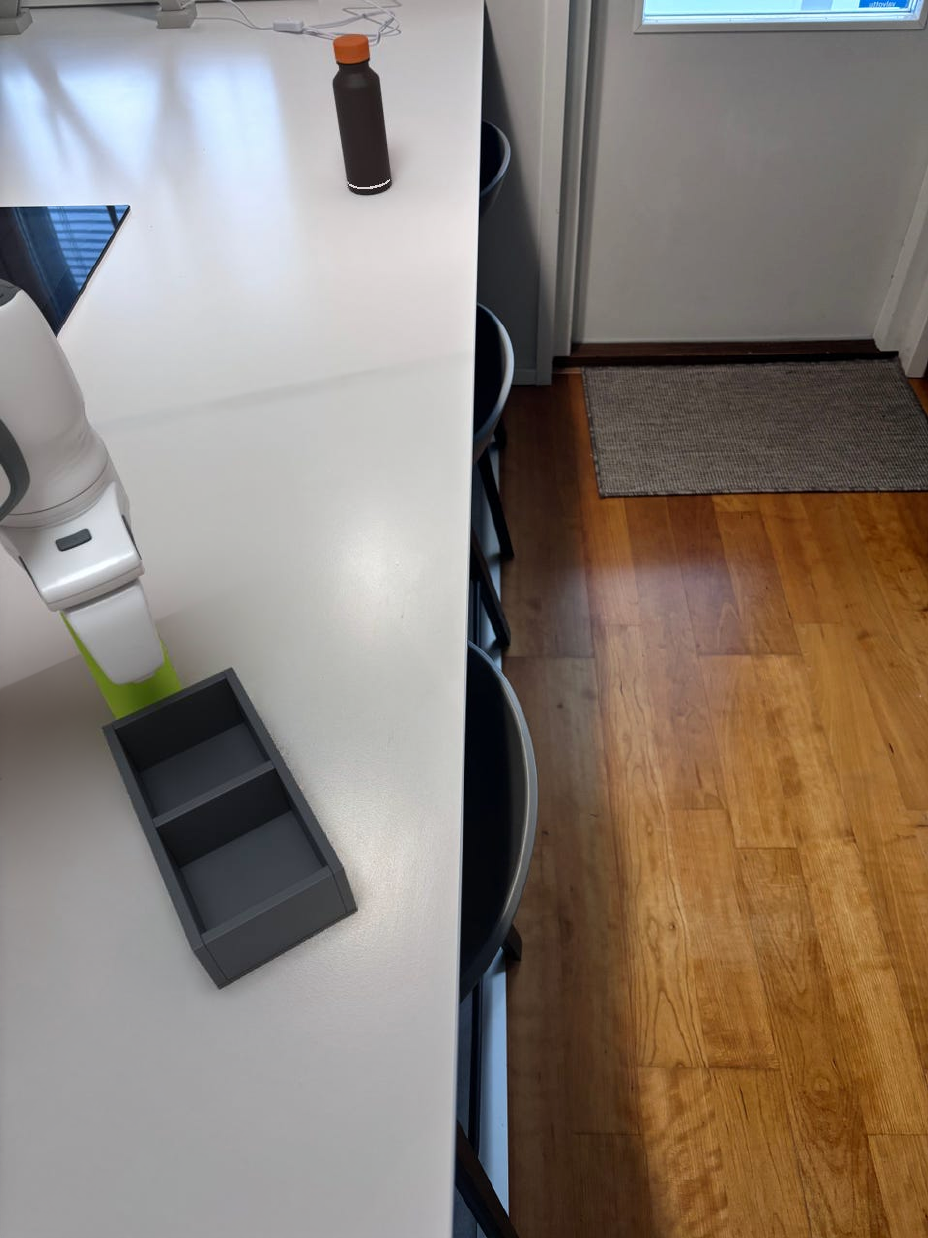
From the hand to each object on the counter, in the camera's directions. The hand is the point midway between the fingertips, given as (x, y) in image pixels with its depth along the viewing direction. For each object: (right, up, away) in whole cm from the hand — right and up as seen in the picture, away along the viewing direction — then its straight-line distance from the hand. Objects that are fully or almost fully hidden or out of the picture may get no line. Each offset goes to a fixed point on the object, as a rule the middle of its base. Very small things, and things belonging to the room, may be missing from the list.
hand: (124, 635), depth 75 cm
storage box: (+9, -15, -3) cm, 18 cm away
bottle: (+12, +68, +71) cm, 99 cm away
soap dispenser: (0, -6, +6) cm, 9 cm away
